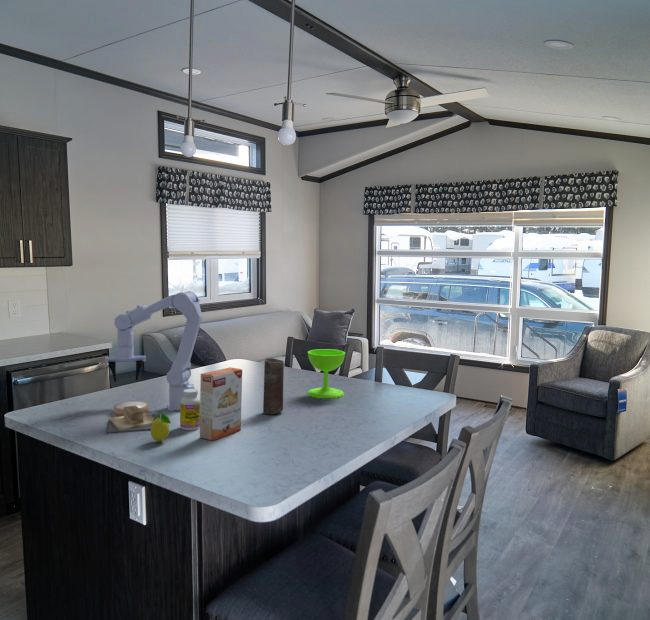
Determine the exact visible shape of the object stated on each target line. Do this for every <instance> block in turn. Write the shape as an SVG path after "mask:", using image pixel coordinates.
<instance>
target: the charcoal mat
mask: <svg viewBox="0 0 650 620" xmlns="http://www.w3.org/2000/svg"><path fill="white" fill-rule="evenodd" d="M149 415H150V416H152V417H153V418H154V417H155V416H156V415H157V414H149ZM158 418H159V417H158ZM158 418H156V419H158ZM151 426H152V425H151ZM151 426H145V427H139V428H132V429H126V430H120V431H119V430H118V429H117V428H116V427H115V426H114V425H113V424H112V423H111V422H110V421H109V420H108V426H107V434H115V433H128V432H140V431H141V432H143V431H151Z"/></svg>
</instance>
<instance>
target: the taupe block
mask: <svg viewBox="0 0 650 620" xmlns="http://www.w3.org/2000/svg"><path fill="white" fill-rule="evenodd" d="M150 415H151V414H150V413H149V412H148V413H143V411H142V410H141V409H140V408H138V407H137V406H136V405H134V406H126V407H124V416H115V417H108V422H109V421H110V422H111V423H112V424H113V425H114V426H115V427H116V428H117V429H118V430H119V431H120V430H126V429H132V428H139V427H145V426H151V425H152V424H153V423H152V422H154V421H155V420H156V419H155V420H154V421H153V419H154V418H153V417H152V416H150Z"/></svg>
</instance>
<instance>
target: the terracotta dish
mask: <svg viewBox="0 0 650 620" xmlns="http://www.w3.org/2000/svg"><path fill="white" fill-rule="evenodd" d="M149 404H150V403H148V402H145V401H141V400H140V401H139V400H138V401H137V400H135V401H133V400H132V401H131V400H130V401H123V402H120V403H116V404H115V405H114V406H113V415H114V416H115V417H120V416H124V407H126V406H134V405H136V406H137V407H138V408H140V409H141V410H142V411H143V413H148V414H149Z"/></svg>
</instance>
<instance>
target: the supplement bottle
mask: <svg viewBox="0 0 650 620" xmlns="http://www.w3.org/2000/svg"><path fill="white" fill-rule="evenodd" d="M183 394H184V397H183V398H182V399H181V401H180V410H179V412H180V413H179V417H180V418H179V419H180V420H179V428H180V429H181V430H183V431H196V430H198V429H199V430H200V397H198V394H199V390H198V389H195V388H194V389H186V390H184V391H183Z"/></svg>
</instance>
